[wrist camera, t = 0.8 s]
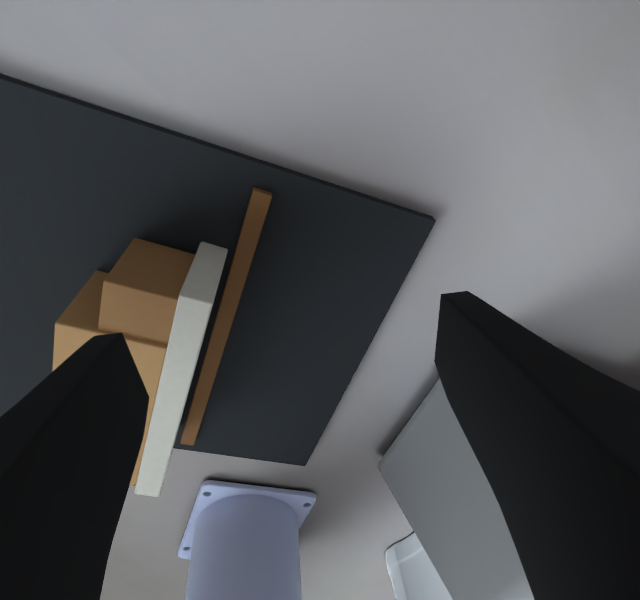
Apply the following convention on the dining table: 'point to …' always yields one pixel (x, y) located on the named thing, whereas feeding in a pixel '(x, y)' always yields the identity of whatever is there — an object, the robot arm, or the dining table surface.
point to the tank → (453, 505)
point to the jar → (414, 572)
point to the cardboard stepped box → (150, 333)
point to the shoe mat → (186, 235)
